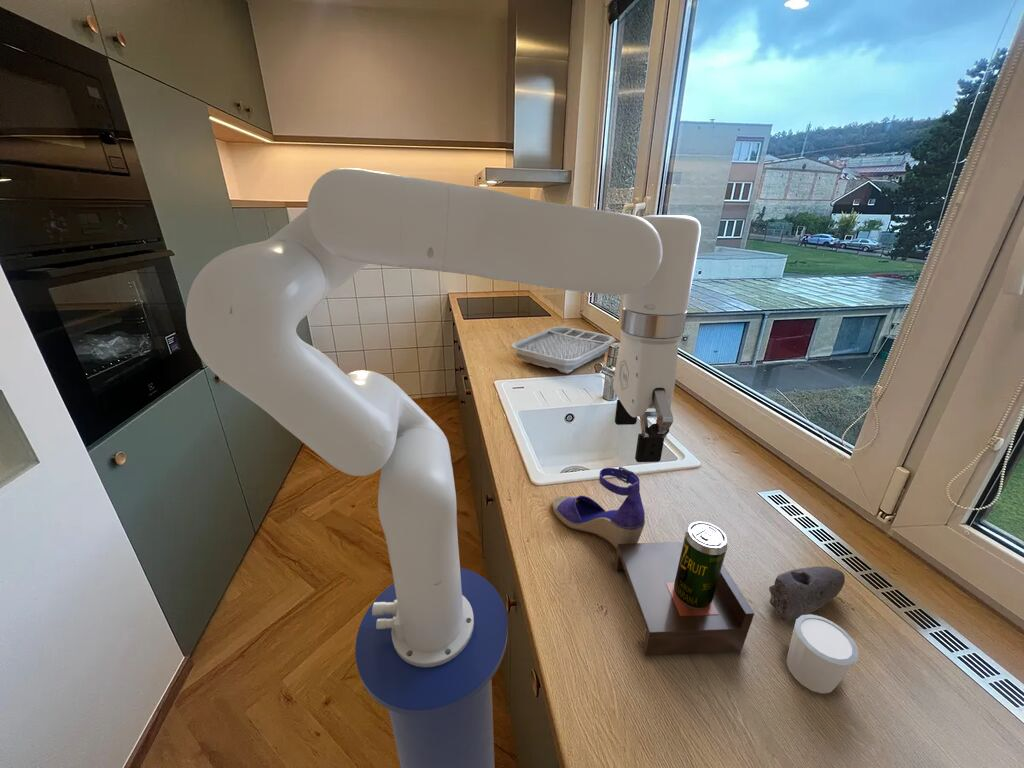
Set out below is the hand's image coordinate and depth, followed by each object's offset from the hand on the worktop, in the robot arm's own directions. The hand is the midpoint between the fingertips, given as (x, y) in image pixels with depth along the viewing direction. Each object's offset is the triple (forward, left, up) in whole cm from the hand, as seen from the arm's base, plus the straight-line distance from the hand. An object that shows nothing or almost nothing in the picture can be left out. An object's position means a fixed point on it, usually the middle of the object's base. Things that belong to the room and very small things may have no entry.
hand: (635, 440), depth 58 cm
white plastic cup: (+23, -15, -28) cm, 40 cm away
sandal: (-1, +13, -28) cm, 31 cm away
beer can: (+9, -7, -23) cm, 26 cm away
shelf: (+8, -4, -28) cm, 30 cm away
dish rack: (+8, +109, -28) cm, 113 cm away
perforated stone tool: (+29, -5, -28) cm, 41 cm away
